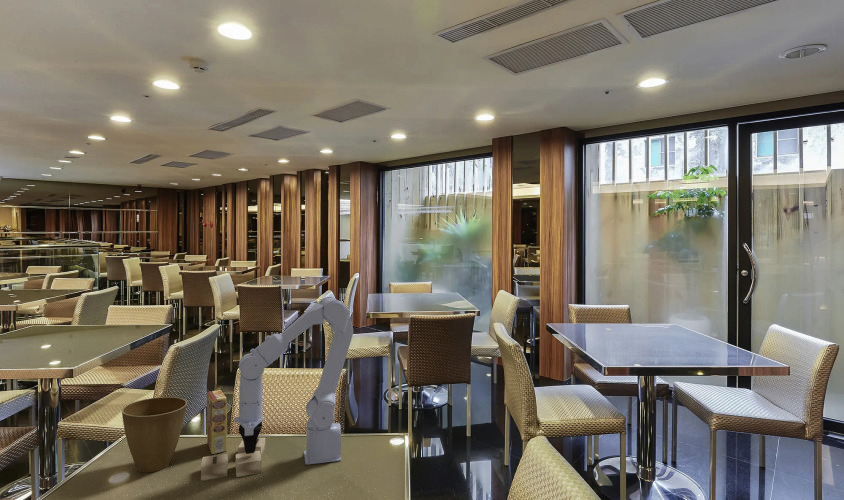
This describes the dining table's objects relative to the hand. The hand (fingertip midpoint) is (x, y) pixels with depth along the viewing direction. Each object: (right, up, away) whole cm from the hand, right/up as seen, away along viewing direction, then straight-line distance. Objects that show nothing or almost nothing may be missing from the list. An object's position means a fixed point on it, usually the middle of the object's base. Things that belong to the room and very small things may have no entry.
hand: (250, 452), depth 122 cm
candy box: (-14, -4, +12) cm, 19 cm away
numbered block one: (-8, -4, -3) cm, 10 cm away
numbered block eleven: (-3, -4, +9) cm, 10 cm away
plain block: (0, -5, 0) cm, 5 cm away
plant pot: (-25, -4, +1) cm, 26 cm away
